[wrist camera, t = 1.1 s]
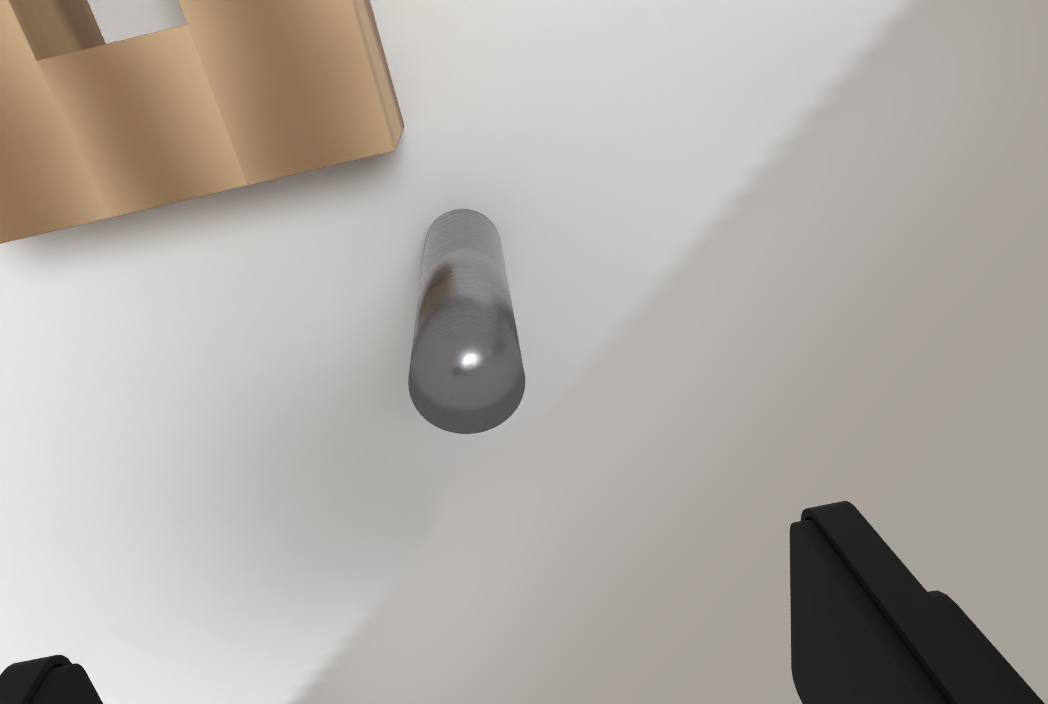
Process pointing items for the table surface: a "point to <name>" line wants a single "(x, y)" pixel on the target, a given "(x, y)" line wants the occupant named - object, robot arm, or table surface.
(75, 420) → the table surface
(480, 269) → the peg
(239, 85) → the hole block
